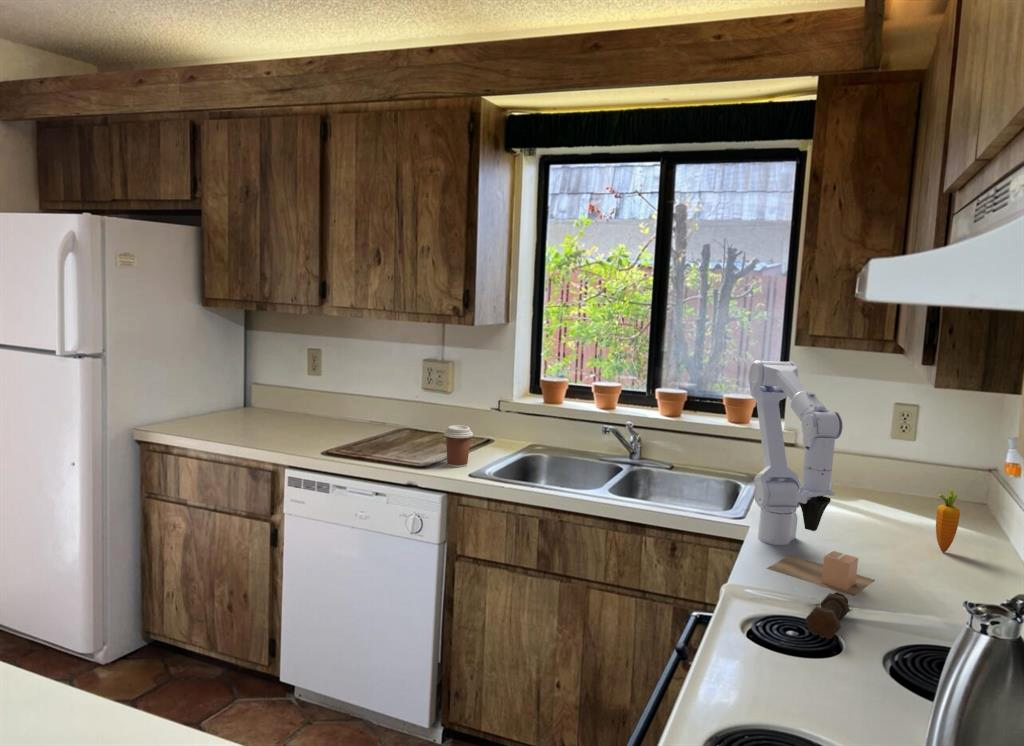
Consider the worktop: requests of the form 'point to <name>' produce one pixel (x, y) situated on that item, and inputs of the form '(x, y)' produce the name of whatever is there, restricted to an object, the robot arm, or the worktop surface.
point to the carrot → (947, 521)
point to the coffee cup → (458, 445)
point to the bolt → (828, 615)
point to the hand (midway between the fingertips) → (810, 529)
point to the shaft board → (814, 573)
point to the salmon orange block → (839, 570)
